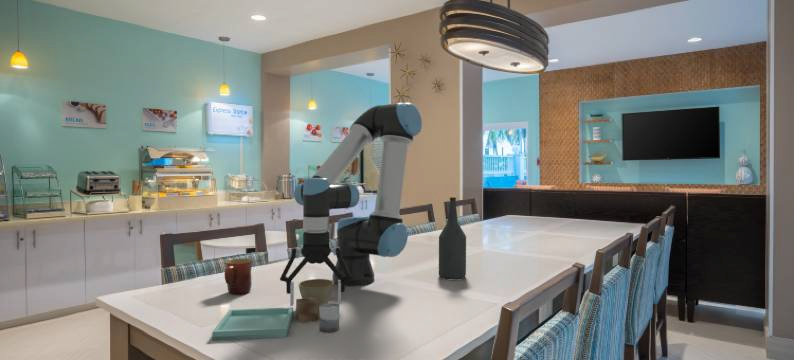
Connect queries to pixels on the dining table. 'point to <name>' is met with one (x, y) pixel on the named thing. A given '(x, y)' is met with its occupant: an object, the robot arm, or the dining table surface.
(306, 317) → the walnut block
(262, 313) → the tray
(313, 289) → the flower pot
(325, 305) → the grey tin
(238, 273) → the mug
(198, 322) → the dining table surface
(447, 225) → the bottle
